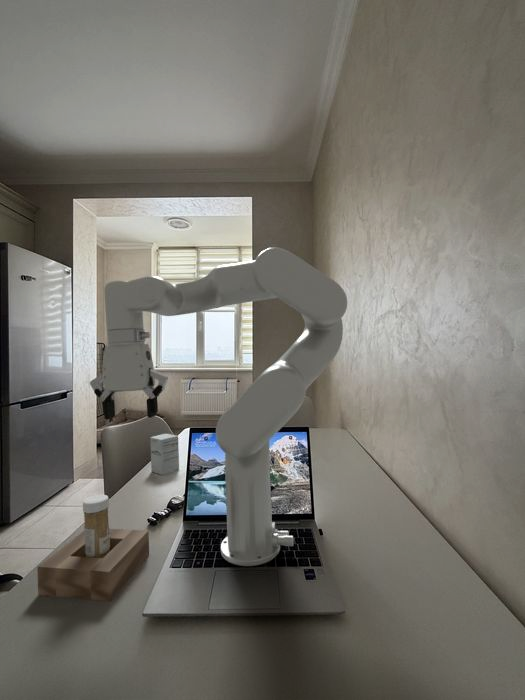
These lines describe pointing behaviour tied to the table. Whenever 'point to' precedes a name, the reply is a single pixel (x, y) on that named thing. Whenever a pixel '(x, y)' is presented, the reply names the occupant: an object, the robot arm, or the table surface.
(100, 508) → the sprinkles bottle
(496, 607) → the table surface
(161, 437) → the supplement box
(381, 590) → the table surface
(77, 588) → the socket block
